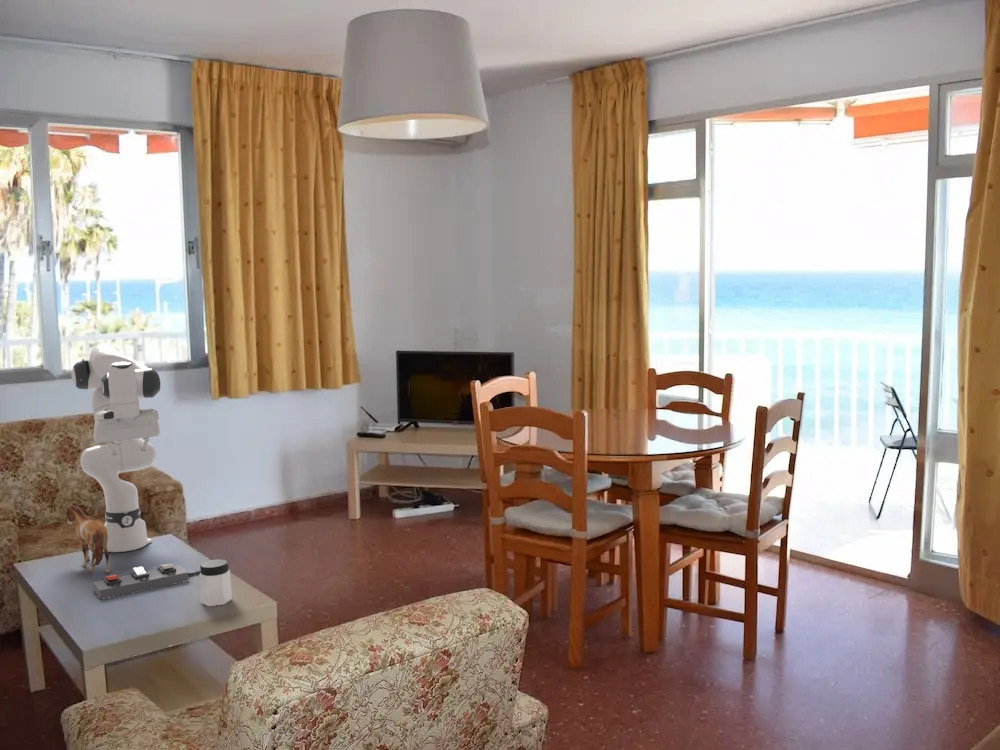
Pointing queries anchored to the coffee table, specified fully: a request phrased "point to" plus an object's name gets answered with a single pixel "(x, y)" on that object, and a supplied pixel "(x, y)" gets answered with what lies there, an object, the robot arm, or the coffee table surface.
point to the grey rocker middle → (139, 571)
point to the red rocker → (111, 577)
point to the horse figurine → (89, 536)
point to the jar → (215, 582)
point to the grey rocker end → (166, 566)
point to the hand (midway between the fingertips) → (128, 453)
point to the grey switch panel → (141, 581)
